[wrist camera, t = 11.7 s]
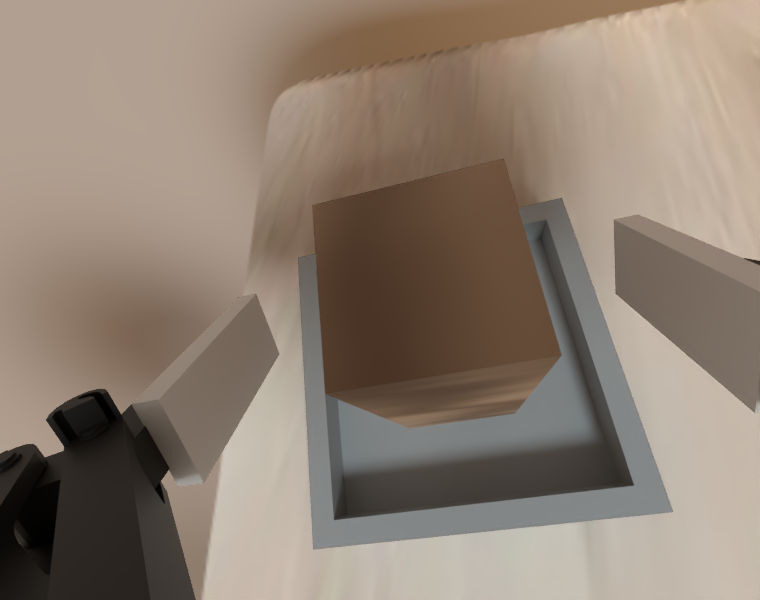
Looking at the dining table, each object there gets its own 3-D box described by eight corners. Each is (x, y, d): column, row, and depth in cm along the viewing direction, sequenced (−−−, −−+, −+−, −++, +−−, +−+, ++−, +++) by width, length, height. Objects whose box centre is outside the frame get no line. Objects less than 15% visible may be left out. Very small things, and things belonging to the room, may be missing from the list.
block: (491, 313, 21) (503, 158, 10) (514, 413, 19) (561, 355, 8) (396, 331, 22) (312, 205, 11) (410, 428, 20) (325, 394, 9)
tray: (553, 224, 23) (561, 197, 20) (647, 504, 17) (673, 511, 15) (314, 275, 25) (298, 257, 23) (332, 538, 20) (313, 549, 17)
